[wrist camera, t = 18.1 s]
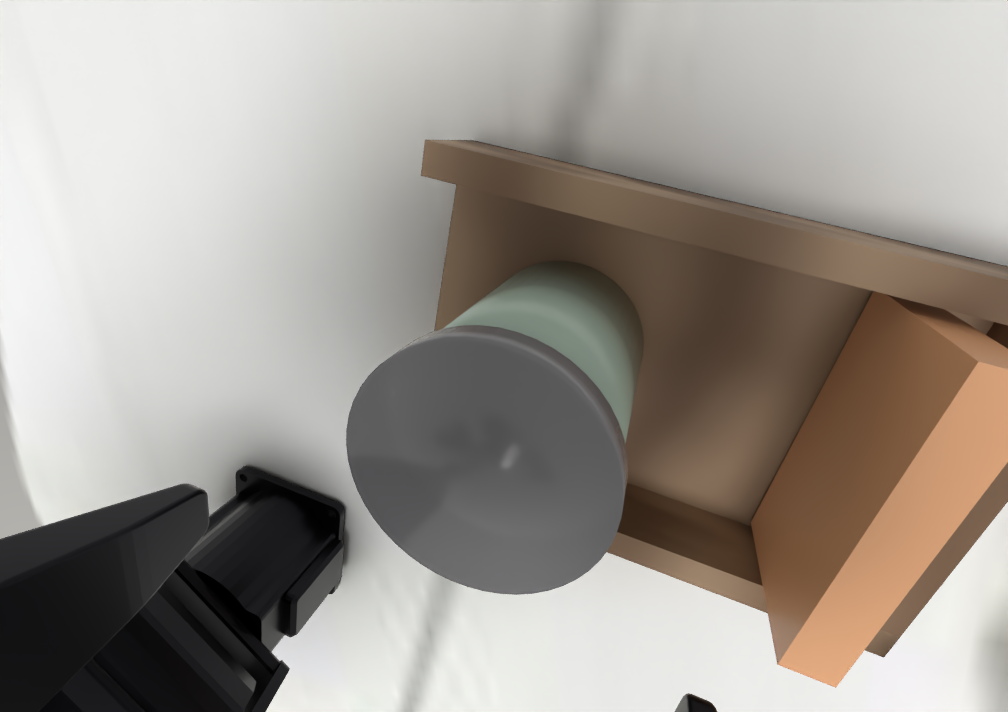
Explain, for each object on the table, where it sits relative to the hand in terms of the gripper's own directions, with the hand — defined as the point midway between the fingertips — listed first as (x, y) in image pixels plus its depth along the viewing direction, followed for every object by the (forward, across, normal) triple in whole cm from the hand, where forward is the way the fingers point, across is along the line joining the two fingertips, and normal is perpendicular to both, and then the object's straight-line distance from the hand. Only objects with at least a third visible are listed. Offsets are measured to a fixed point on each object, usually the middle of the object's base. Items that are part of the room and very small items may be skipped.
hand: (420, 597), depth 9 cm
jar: (+12, 0, 0) cm, 12 cm away
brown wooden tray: (+13, -4, 0) cm, 13 cm away
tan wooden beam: (+12, -9, 0) cm, 15 cm away
